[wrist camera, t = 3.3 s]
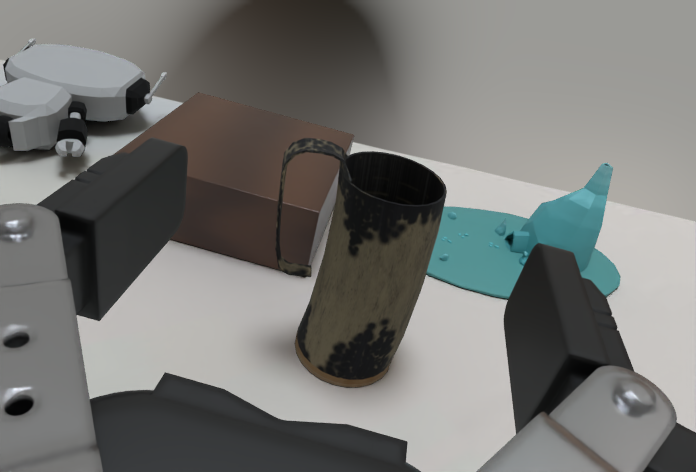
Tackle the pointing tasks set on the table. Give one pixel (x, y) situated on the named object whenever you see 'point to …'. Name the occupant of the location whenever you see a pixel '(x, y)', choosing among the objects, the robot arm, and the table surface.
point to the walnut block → (250, 179)
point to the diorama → (523, 241)
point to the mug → (365, 262)
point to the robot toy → (66, 95)
